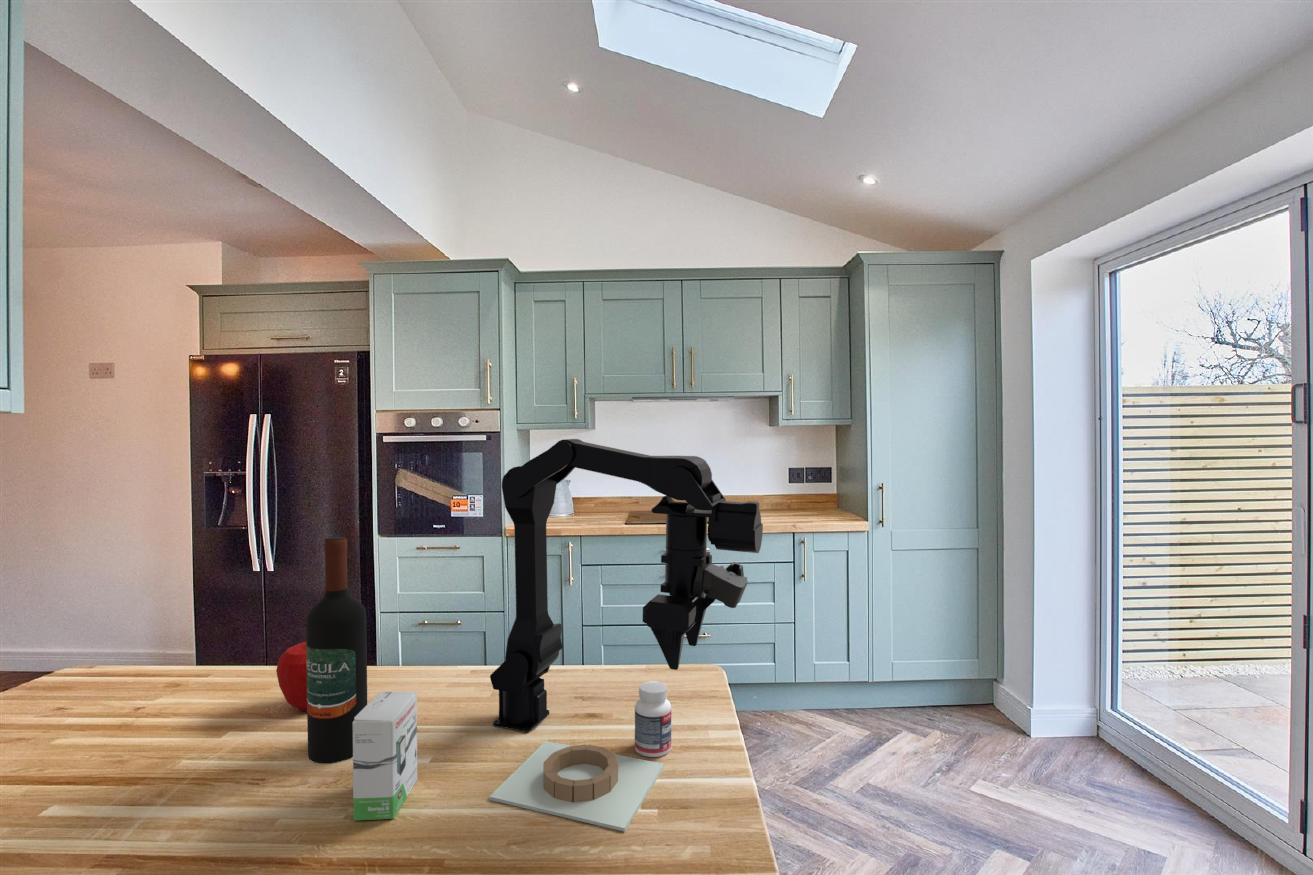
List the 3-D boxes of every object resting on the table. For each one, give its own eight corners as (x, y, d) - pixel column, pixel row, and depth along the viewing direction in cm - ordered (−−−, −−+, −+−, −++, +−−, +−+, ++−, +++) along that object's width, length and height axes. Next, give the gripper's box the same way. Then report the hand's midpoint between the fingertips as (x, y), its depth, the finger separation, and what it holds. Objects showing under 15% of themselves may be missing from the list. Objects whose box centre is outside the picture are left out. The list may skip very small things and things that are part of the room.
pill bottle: (667, 760, 86) (667, 696, 85) (630, 756, 87) (630, 693, 86) (674, 740, 91) (674, 680, 90) (639, 736, 92) (639, 677, 92)
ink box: (394, 821, 73) (393, 721, 72) (350, 822, 72) (349, 721, 72) (419, 778, 81) (418, 688, 81) (380, 779, 81) (379, 689, 81)
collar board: (489, 799, 77) (489, 780, 77) (545, 743, 90) (545, 727, 90) (624, 831, 71) (625, 810, 71) (664, 766, 84) (664, 749, 84)
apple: (342, 713, 99) (341, 645, 99) (272, 724, 95) (270, 654, 95) (346, 688, 108) (345, 626, 108) (283, 697, 104) (282, 633, 104)
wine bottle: (379, 742, 90) (377, 536, 89) (333, 768, 83) (330, 545, 82) (343, 731, 93) (340, 532, 92) (295, 755, 86) (292, 541, 86)
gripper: (728, 567, 76) (725, 693, 76) (755, 539, 93) (752, 642, 94) (642, 558, 79) (640, 679, 80) (683, 533, 97) (682, 632, 97)
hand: (683, 656), depth 88 cm, fingers open, 9 cm apart
